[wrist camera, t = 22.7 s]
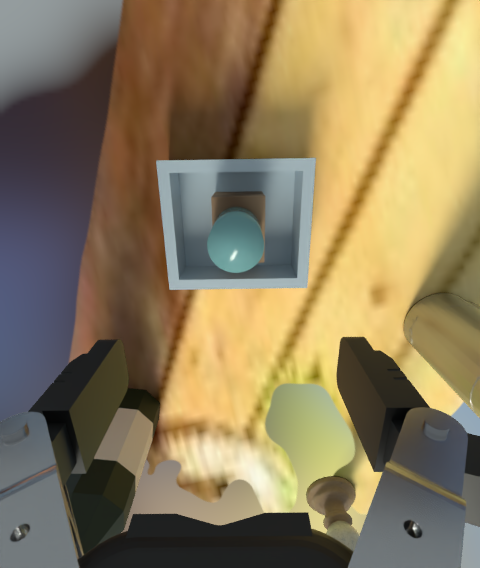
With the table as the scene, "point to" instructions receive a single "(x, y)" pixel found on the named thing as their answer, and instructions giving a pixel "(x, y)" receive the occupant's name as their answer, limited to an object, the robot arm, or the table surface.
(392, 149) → the table surface
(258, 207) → the walnut block
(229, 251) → the teal glossy cylinder
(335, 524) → the candle holder
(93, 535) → the wine bottle
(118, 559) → the robot arm
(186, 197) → the blue-grey tote
